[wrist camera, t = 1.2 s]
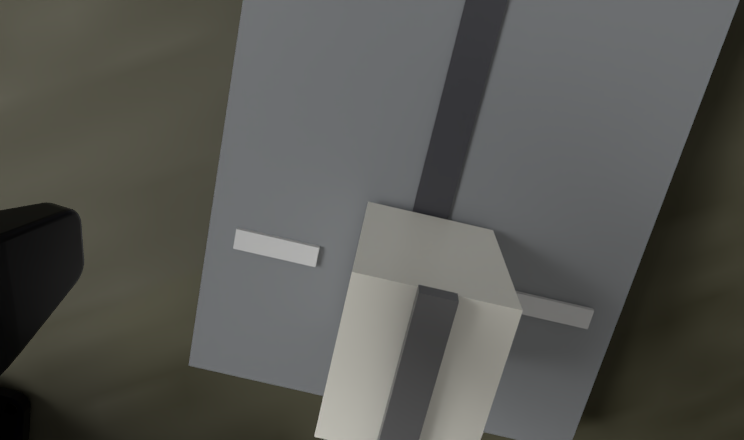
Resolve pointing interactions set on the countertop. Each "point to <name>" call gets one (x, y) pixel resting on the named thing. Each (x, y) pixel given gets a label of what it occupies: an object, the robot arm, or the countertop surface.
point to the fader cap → (419, 331)
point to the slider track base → (449, 171)
